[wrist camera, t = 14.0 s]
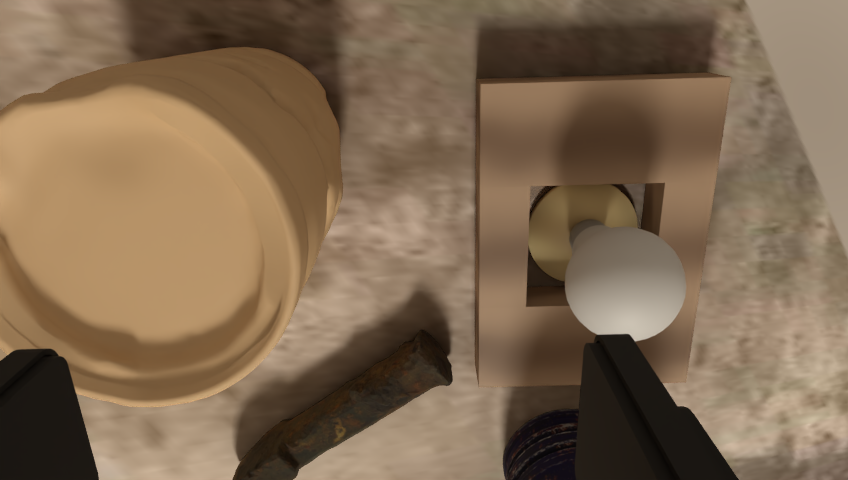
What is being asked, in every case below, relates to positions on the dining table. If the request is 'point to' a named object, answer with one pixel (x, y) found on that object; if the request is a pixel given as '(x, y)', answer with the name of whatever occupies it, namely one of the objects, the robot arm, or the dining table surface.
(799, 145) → the dining table surface
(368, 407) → the hand tool
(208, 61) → the container
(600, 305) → the lightbulb
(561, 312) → the holder
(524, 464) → the navy ridged cylinder
